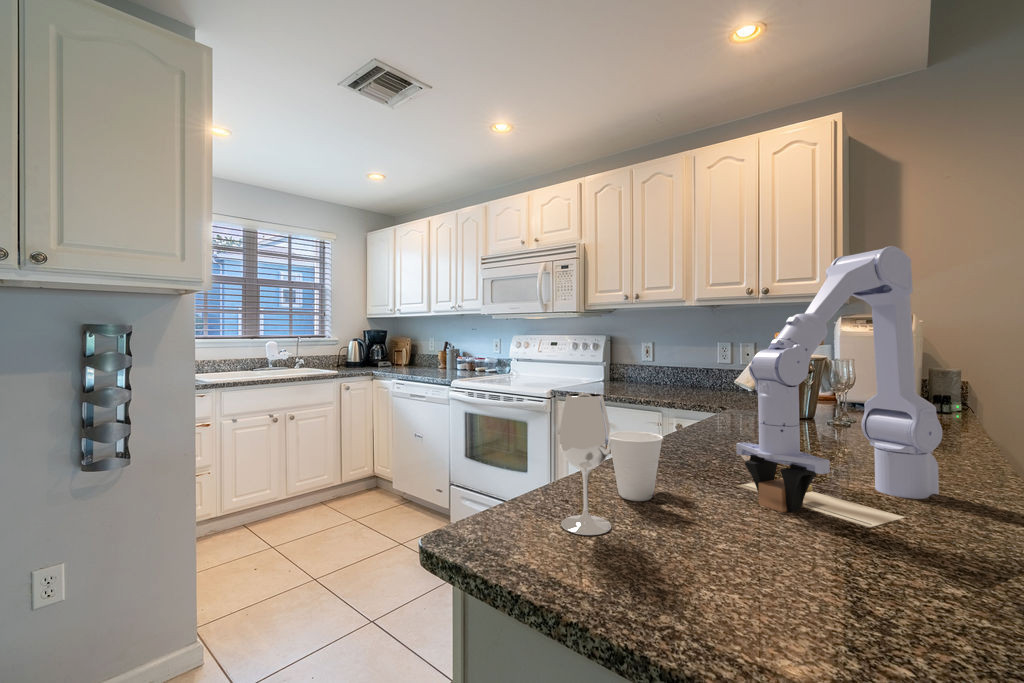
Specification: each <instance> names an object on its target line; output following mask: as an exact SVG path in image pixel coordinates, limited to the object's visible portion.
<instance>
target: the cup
mask: <svg viewBox="0 0 1024 683" xmlns="http://www.w3.org/2000/svg"><path fill="white" fill-rule="evenodd" d="M610 434H611V449H610V453H611V457H612V462H613V463H612V465H613V469H614V474H615V480H616V487H617V492H618V495H619V496H620V497H621V498H622V499H625V500H627V501H632V502H646V501H649V500H651V499H652V498H653V497H654V493H655V488H656V487H655V486H656V481H657V480H656V479H657V472H658V466H659V461H660V460H659V459H660V455H661V448H662V442H663V440H664V437H663V435H661V434H658V433H654V432H649V431H648V432H647V431H636V430H635V431H634V430H627V431H626V430H625V431H623V430H622V431H614V432H610Z"/></svg>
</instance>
